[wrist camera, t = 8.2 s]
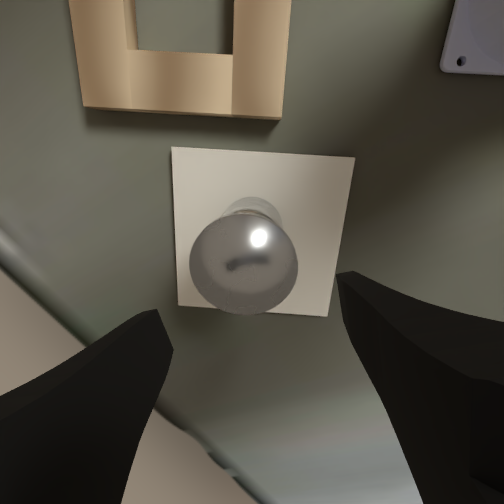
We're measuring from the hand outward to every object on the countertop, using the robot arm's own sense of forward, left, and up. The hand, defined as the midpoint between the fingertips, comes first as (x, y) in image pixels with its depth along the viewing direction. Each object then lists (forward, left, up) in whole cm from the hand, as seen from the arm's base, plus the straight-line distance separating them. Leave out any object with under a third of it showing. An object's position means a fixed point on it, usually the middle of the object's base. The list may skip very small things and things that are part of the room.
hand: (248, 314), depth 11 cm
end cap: (0, -1, -10) cm, 10 cm away
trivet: (0, 0, -10) cm, 10 cm away
